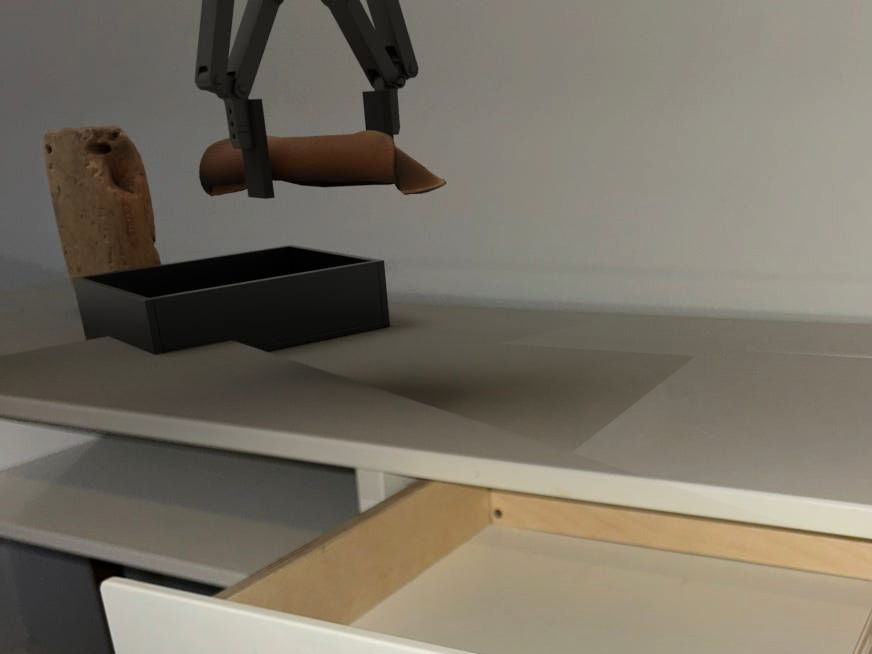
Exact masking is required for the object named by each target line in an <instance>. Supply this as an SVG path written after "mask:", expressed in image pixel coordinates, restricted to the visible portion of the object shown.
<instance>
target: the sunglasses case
mask: <svg viewBox="0 0 872 654" xmlns="http://www.w3.org/2000/svg"><path fill="white" fill-rule="evenodd" d="M267 142H268V150H269V157H270V165H271V173H272V180H273V181H274V182H277V181H278V182H285V183H289V184H292V185H297V186H301V187H311V188H313V187H314V188H340V187H341V188H343V187H361V186H362V187H364V186H391V185H394V187H396V190H397V191H399V192H401V193H402V195H404V196H409V195H422V194H423V195H424V194H428V193H430V192H432V191H435V190H437V189H440V188H442V187H444V186H446V184H447V181H446V180H445V178H441V177H439V176H437V175H436V174H434V173H433V172H432V171H430V170H429V169H428V168H427V167H426V166H424V165H423V164H421V163H420V162H419V161H418V160H416V159H414V158H413V157H411V156H410V155H409V154H408V153H406V152H405V151H403V150H402V149H401V148H400V147H397V145H396V143H395V139H394V140H393V138H392V137H391V136H390V135H388V134H385V133H382V132H378V131H373V130H366V129H365V130H361V131H358V132H354V133H348V134H347V133H346V134H325V135H324V134H323V135H310V136H308V135H307V136H306V135H305V136H282V137H281V136H277V135H276V136H275V135H267ZM199 161H200V162H199V165H198V166H199V168H198V174H199V175H198V179H199V182H200V186H201V187H202V189H203V191H204V193H205V194H207V195H209V196H210V197H216V196H223V195H227V194H228V195H229V194H233V193H239V192H243V191H246V190H247V184H246V177H245V170H244V162H243V155H242V149H234V148H233V146H232V144H231V142H230V137H227V138H224V139H220V140H217V141H216V142H213V143H212V144H210V145H209V146H208V147H207V148H206V149H205V150H204V152H203V153H202V156H201V159H200V160H199Z"/></svg>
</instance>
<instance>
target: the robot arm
mask: <svg viewBox="0 0 872 654" xmlns="http://www.w3.org/2000/svg"><path fill="white" fill-rule="evenodd" d="M284 1H285V0H247V2H246V5H245V7H244V11H243V13H242V16H241V20H240V23H239V26H238V29H237V32H236V35H235V38H234V41H233V44H232V48H231V38H232V29H233V19H234V10H235V0H201V9H200V19H199V30H198V39H197V40H198V41H197V48H196V49H197V50H196V61H195V62H196V63H195V72H194V73H195V74H194V84H195V86H196V87H197V88H198V89H199V90H200V91H206V92H209V93H211V94H215V95H216V97H217V98H219V100H220V99H221V100H222V101H223V103H224V107H225V114H226V123H227V129H228V136H229V138H230V142H231V144H232V146H233V148H234V149H242V155H243V162H244V170H245V177H246V184H247V189H246V190H247V197H248V198H254V199H264V200H268V199H275V198H276V196H275V189H274V182H273V180H272V173H271V165H270V157H269V150H268V142H267V136H268V135H267V127H266V120H265V112H264V105H263V99H262V98H249V96H250V95H251V92H252V90H253V87H254V83H255V81H256V78H257V75H258V72H259V69H260V66H261V62H262V59H263V56H264V53H265V50H266V47H267V44H268V41H269V39H270V35H271V33H272V29H273V26H274V23H275V21H276V17H277V15H278V11H279V8H280V6H281V5H282V4H283V3H284ZM320 1H321V3H322V4H323V6H325V7H326V8H328V10H329V11H330V13H331V15H332V17H333V18H334V21H335V23H336V24H337V26H338V28H339V30H340V32H341V33H342V35H343V37H344V38H345V40H346V42H347V44H348V46H349V48H350V50H351V51H352V53H353V55H354V57H355V59H356V60H357V62H358V64H359V66H360V68H361V69H362V72H363V73H364V75H365V78H366V80H367V81H368V83H369V85H370V86H371V88H372V89H373V90H366V91H365V90H364V91H362V92H361V93H362V104H363V114H364V115H363V116H364V125H365V127H364V128H365V131H366V130H373V131H378V132H382V133H385V134H388V135H390V136H391V137H392V138H393V140H394V141H395V137H394V136H398V135H400V131H401V120H400V107H399V106H400V105H399V92H398V91H399V89H403V88H404V87H405V86H406V83H407V81H408V80H410V79H414V78H416V77H417V76H418V74H419V64H418V61H417V57H416V54H415V51H414V48H413V44H412V40H411V37H410V33H409V30H408V27H407V23H406V20H405V17H404V13H403V10H402V6H401V3H400V0H365V1H366V5H367V7H368V11H369V14H370V17H371V19H370V17H369V15H368V13H367V12H366V10H365V7H364V5H363V3H362V2H361V0H320ZM371 20H372V21H371ZM230 48H231V50H230Z"/></svg>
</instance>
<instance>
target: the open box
mask: <svg viewBox="0 0 872 654" xmlns="http://www.w3.org/2000/svg"><path fill="white" fill-rule="evenodd" d="M72 280H73V284H74V288H73V290H74V289H75V290H74V293H75V297H76V302H77V307H78V310H79V315H80V320H81V324H82V328H83V333H84V337H85V341H91V340H96V339H102V338H107V337H109V338H112V339H114V340H117V341H119V342H122V343H124V344H127V345H130V346H132V347H135V348H137V349H139V350H141V351H145V352H147V353H150V354H152V355H155V356H157V355H162V354H166V353H172V352H177V351H182V350H187V349H193V348H198V347H203V346H209V345H212V344H213V345H214V344H218V343H224V342H227V341H228V342H229V341H232V342H235V343H238V344H241V345H244V346H248V347H251V348H254V349H257V350H259V351H263V352H270V351H276V350H280V349H285V348H290V347H294V346H295V347H296V346H301V345H306V344H309V343H314V342H319V341H325V340H330V339H333V338H339V337H344V336H350V335H353V334H359V333H363V332H368V331H369V332H370V331H374V330H378V329H383V328H387V327H391V324H390V323H391V322H390V311H389V310H390V309H389V300H388V299H389V298H388V288H387V277H386V266H385V260H384V259H377V258H372V257H366V256H361V255H354V254H348V253H343V252H338V251H337V252H336V251H331V250H325V249H320V248H313V247H307V246H301V245H295V244H288V245H282V246H275V247H268V248H261V249H254V250H247V251H240V252H233V253H228V254H227V253H226V254H222V255H221V254H220V255H214V256H208V257H200V258H193V259H186V260H182V261H181V260H180V261H174V262H167V263H161V264H160V265H153V266H147V267H140V268H133V269H127V270H120V271H113V272H106V273H100V274H93V275H86V276H80V277H73V278H72Z"/></svg>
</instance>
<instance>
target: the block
mask: <svg viewBox="0 0 872 654" xmlns="http://www.w3.org/2000/svg"><path fill="white" fill-rule="evenodd" d="M42 149H43V150H42V151H43V158H44V162H45V163H44V164H45V170H46V176H47V181H48V188H49V194H50V198H51V204H52V208H53V209H52V210H53V213H54V219H55V221H56V227H57V233H58V238H59V242H60V246H61V250H62V251H61V252H62V256H63V258H64V262H65V267H66V271H67V274H68V279H69V283H70V284H71V286H72V289H73V290H74V291H75V289H74V284H73V280H72V278H73V277H80V276H86V275H93V274H100V273H106V272H113V271H120V270H127V269H133V268H140V267H147V266H153V265H160V264H162V261H161V257H160V253H159V251H158V249H157V248H156V246H155V244H156V241H157V238H156V224H155V214H154V208H153V201H152V195H151V190H150V185H149V182H148V177H147V172H146V168H145V165H144V163H143V159H142V156H141V154H140V152H139V150H138V148H137V146H136V145H135V143H134V142H133V140H132V139H131V138H130V137H129V135H128V134H127V133H126V132H125V131H124V130H123V129H122V127H120V126H118V125H117V124H111V125H97V126H84V127H83V126H82V127H63V128H61V129H57V130H52V129H48V130H46V131H44V132H43V134H42Z"/></svg>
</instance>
